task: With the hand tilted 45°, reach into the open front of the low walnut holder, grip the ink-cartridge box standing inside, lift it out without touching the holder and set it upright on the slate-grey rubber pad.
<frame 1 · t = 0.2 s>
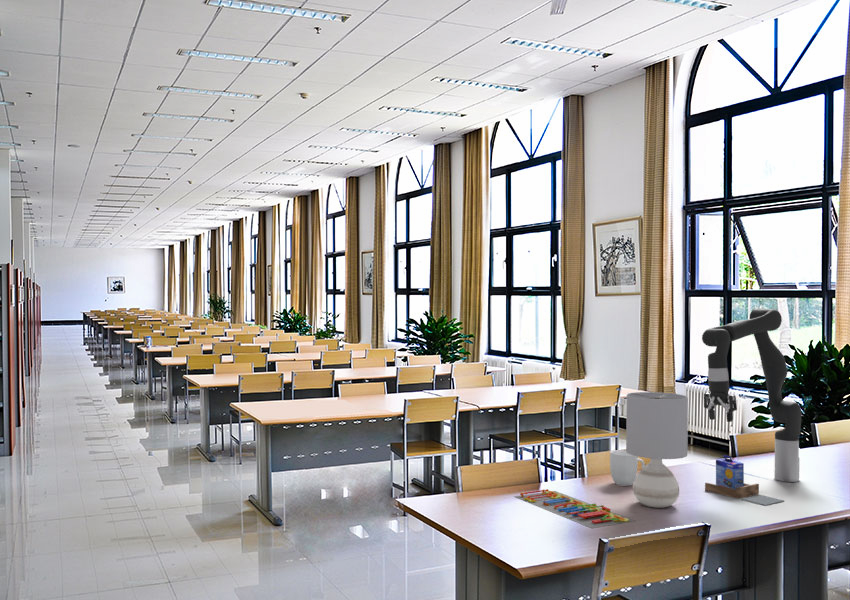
hand: (720, 420, 301), 29 cm above the table, tool pointing down, fingers open, 8 cm apart
pad: (762, 500, 290), on the table
ink cartridge box: (729, 492, 303), on the table
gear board: (571, 510, 277), on the table
holder: (729, 491, 303), on the table
lamp: (655, 505, 282), on the table
mug: (625, 484, 314), on the table
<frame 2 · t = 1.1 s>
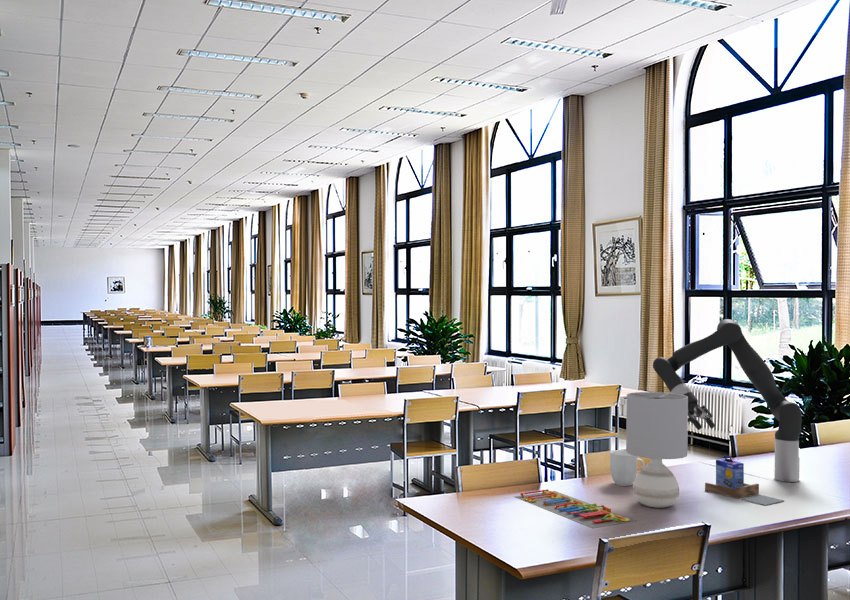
hand: (706, 427, 315), 23 cm above the table, tool tilted 45°, fingers open, 8 cm apart
nothing on the table moved.
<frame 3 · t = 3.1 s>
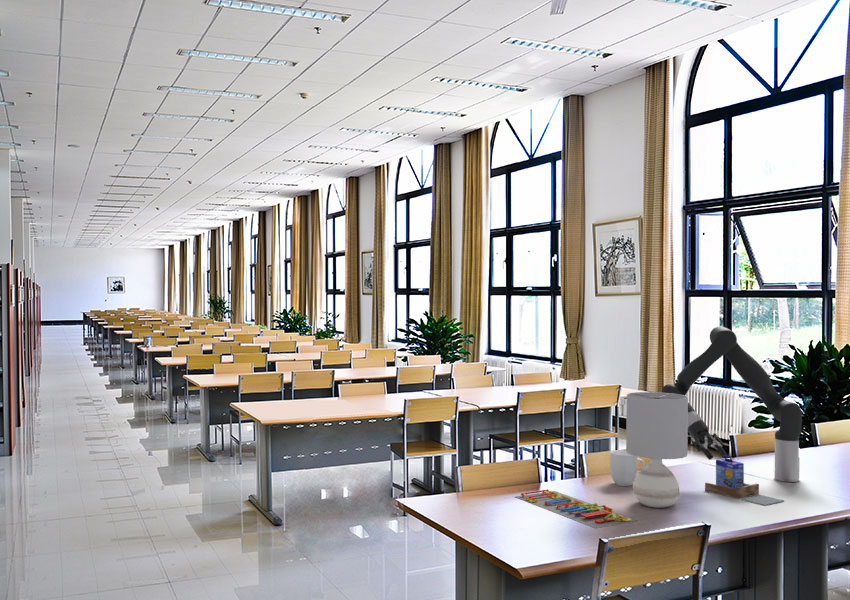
hand: (718, 457, 307), 13 cm above the table, tool tilted 45°, fingers open, 8 cm apart
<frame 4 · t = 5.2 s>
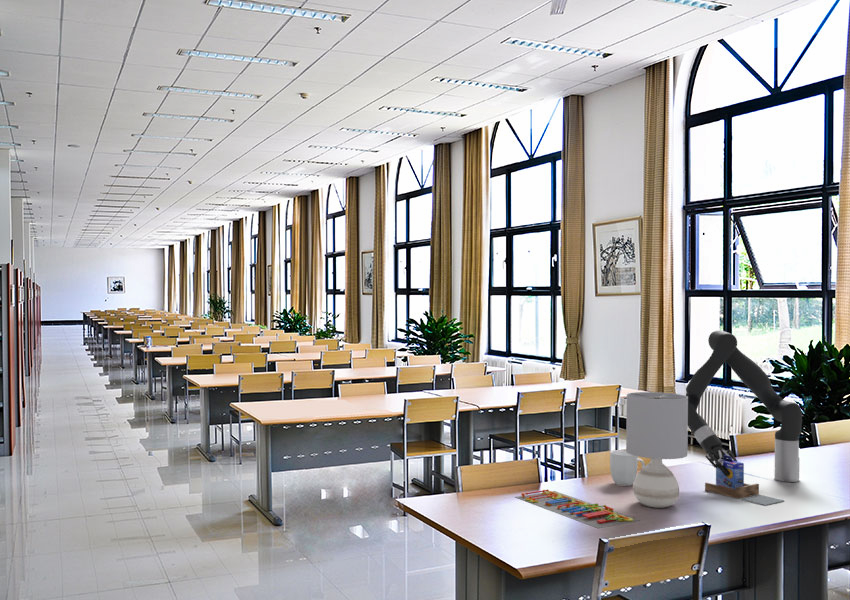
hand: (733, 474, 302), 7 cm above the table, tool tilted 45°, fingers closed on ink cartridge box, 6 cm apart
ink cartridge box: (729, 492, 303), on the table, touching gripper
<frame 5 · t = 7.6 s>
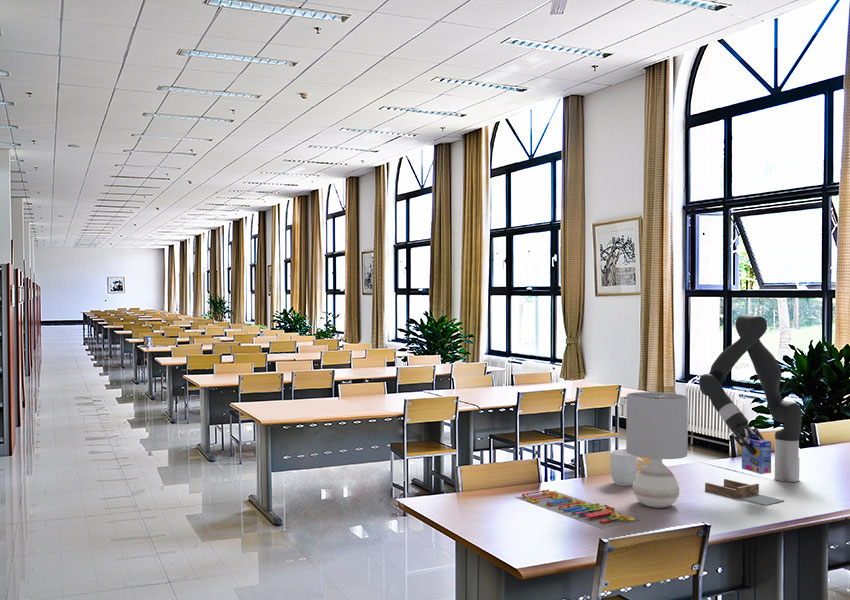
hand: (760, 452, 291), 18 cm above the table, tool tilted 45°, fingers closed on ink cartridge box, 6 cm apart
ink cartridge box: (755, 471, 293), point 10 cm above the table, touching gripper
when the fingers open (9 cm above the table, at t = 10.0 s): ink cartridge box drops 1 cm, resting on pad.
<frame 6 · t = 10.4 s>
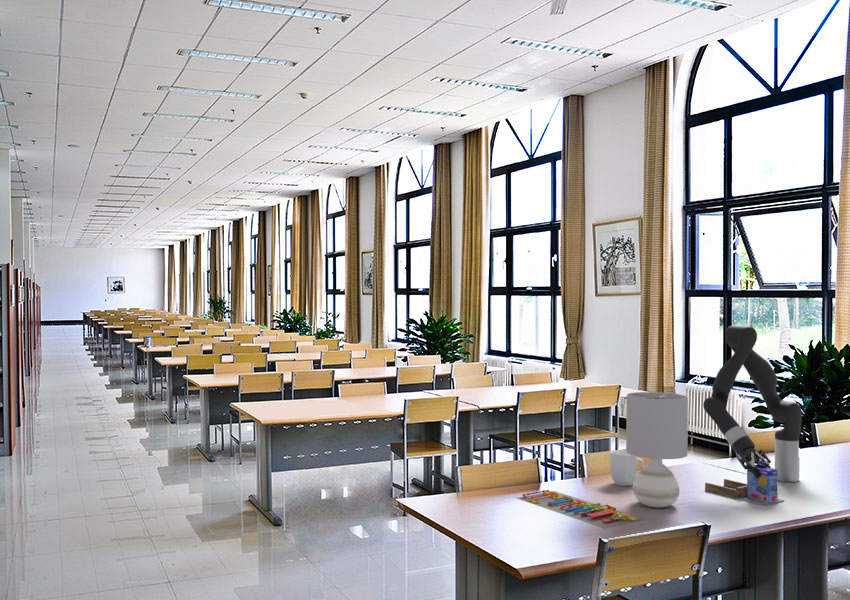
hand: (766, 475, 289), 10 cm above the table, tool tilted 45°, fingers open, 8 cm apart
ink cartridge box: (761, 499, 290), resting on pad
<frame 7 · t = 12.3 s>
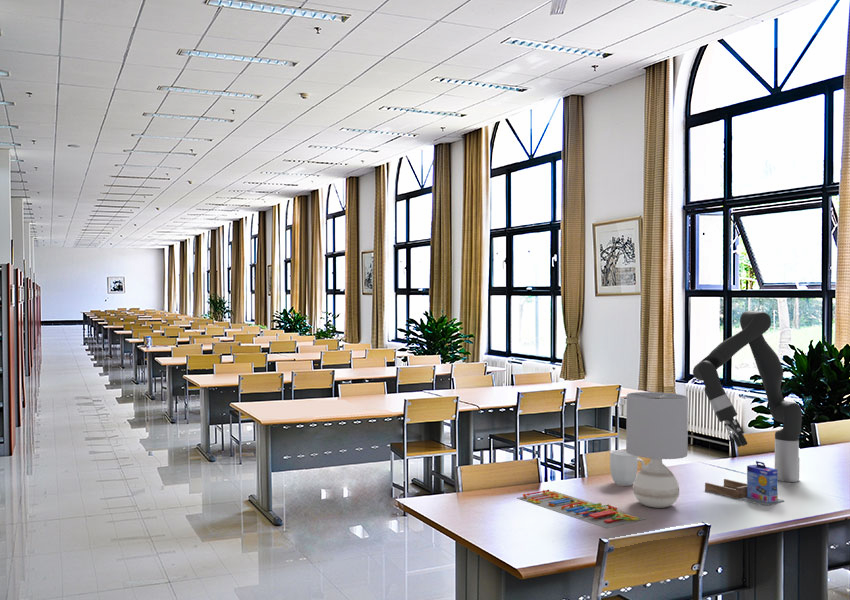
hand: (742, 445, 303), 18 cm above the table, tool tilted 30°, fingers open, 8 cm apart
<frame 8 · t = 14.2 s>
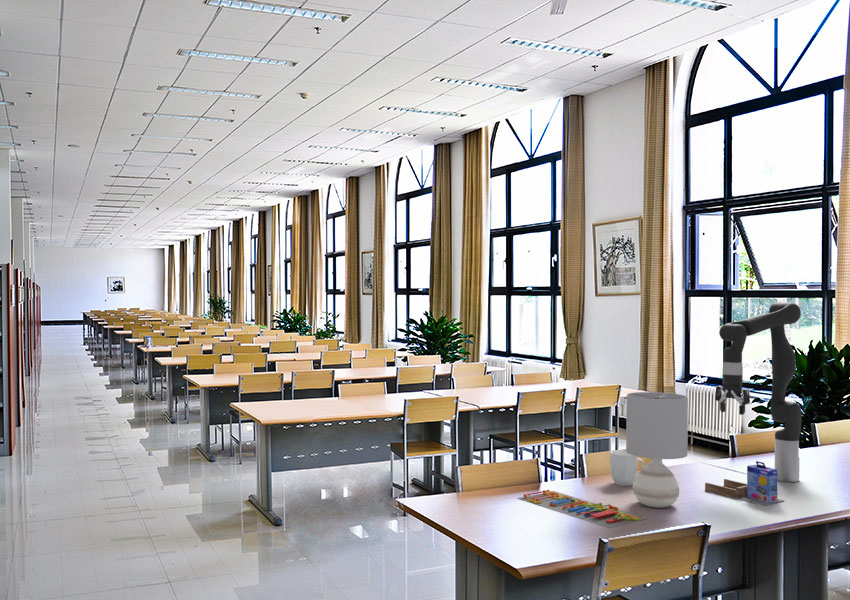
hand: (732, 413, 310), 30 cm above the table, tool pointing down, fingers open, 8 cm apart
at the end: ink cartridge box inside the target area on the pad (0.2 cm from its centre), point 0.2 cm above the pad's base; ink cartridge box tilted 0°; the gripper is holding nothing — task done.
